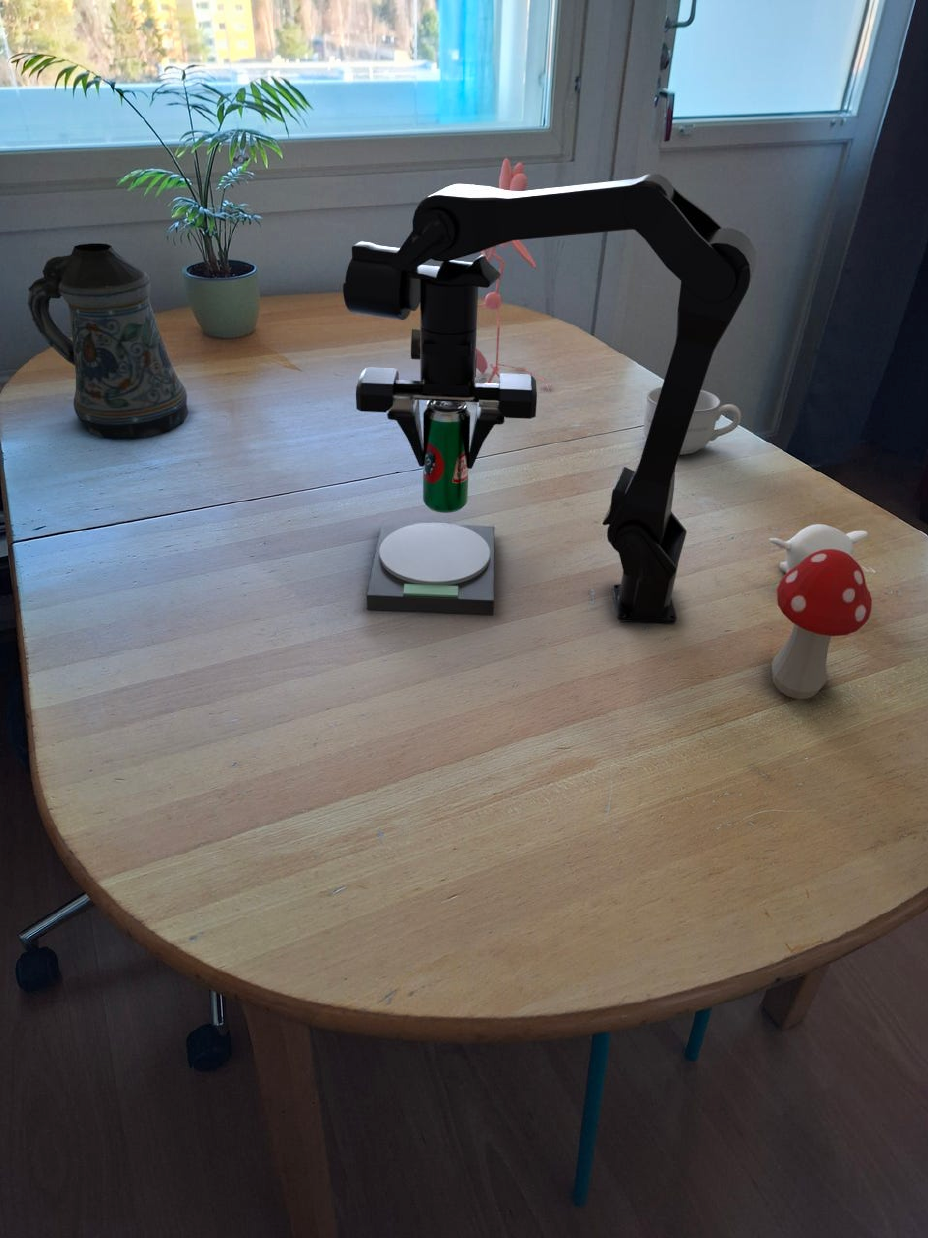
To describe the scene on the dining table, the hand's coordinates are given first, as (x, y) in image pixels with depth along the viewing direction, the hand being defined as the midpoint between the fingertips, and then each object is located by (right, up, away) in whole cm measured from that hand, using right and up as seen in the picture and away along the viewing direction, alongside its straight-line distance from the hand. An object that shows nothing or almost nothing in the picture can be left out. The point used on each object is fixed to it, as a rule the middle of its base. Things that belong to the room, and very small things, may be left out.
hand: (446, 465), depth 97 cm
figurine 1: (+9, +22, +53) cm, 58 cm away
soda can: (0, -4, +3) cm, 5 cm away
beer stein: (-50, +14, +38) cm, 64 cm away
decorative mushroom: (+36, -23, -8) cm, 44 cm away
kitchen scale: (-2, -12, +6) cm, 13 cm away
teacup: (+36, +9, +36) cm, 51 cm away
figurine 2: (+42, -14, +6) cm, 45 cm away
